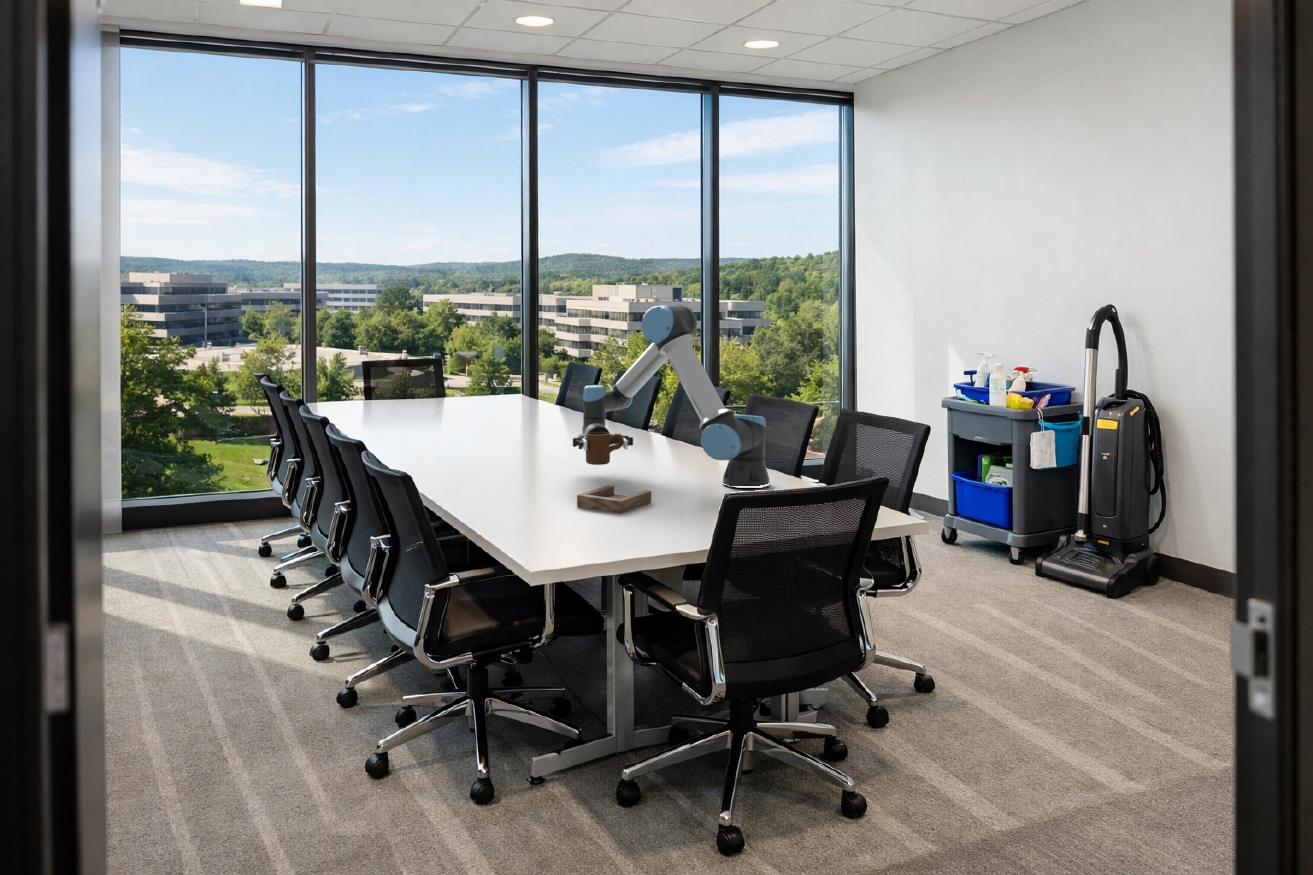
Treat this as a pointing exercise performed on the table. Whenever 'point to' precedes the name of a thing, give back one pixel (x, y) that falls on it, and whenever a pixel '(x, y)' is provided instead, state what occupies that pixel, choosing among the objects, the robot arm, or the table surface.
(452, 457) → the table surface
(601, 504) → the u rest
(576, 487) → the table surface
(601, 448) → the mug
